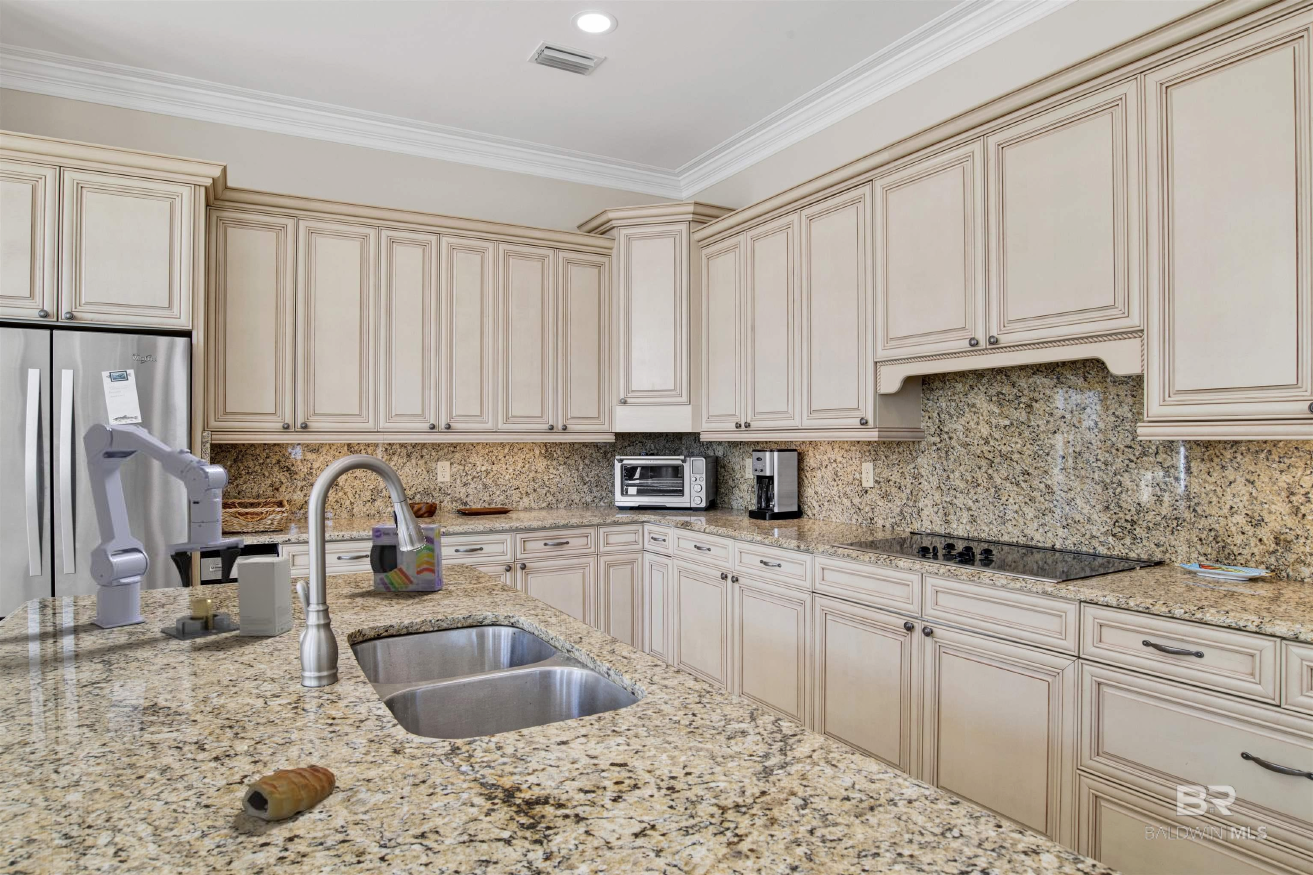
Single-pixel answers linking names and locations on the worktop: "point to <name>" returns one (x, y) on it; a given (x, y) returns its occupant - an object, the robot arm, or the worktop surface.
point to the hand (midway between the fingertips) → (206, 584)
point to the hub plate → (194, 635)
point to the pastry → (287, 792)
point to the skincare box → (265, 596)
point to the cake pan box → (406, 561)
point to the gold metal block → (203, 611)
